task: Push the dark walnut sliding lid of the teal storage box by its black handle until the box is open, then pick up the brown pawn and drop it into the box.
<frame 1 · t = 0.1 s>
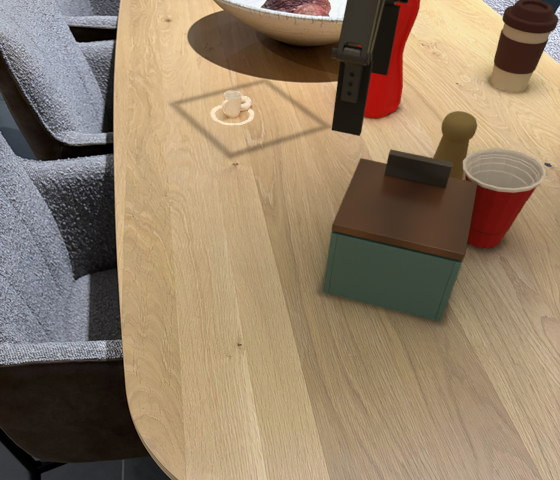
hand: (361, 99, 60), 26 cm above the table, tool pointing down, fingers open, 13 cm apart
sliding lid: (410, 195, 74), point 12 cm above the table, slide at 0.0 cm
water bottle: (367, 107, 114), on the table
plastic cup: (477, 239, 89), on the table
brown pawn: (442, 181, 99), on the table
coffee cup: (506, 87, 123), on the table
storage box: (390, 272, 83), on the table
teacup and saucer: (249, 119, 109), on the table
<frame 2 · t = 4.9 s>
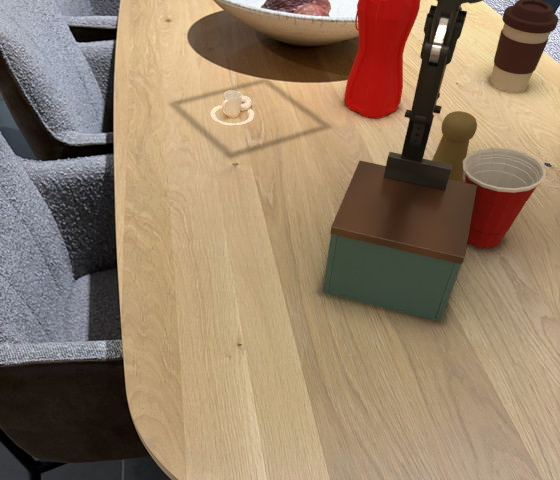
hand: (410, 164, 77), 13 cm above the table, tool pointing down, fingers closed
sliding lid: (409, 197, 73), point 12 cm above the table, slide at 0.6 cm, touching gripper
everything else where it was.
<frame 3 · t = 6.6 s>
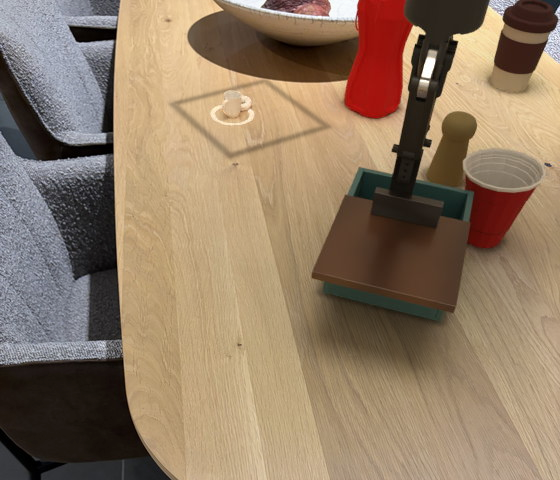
hand: (398, 200, 72), 13 cm above the table, tool pointing down, fingers closed
sliding lid: (397, 238, 68), point 12 cm above the table, slide at 9.1 cm, touching gripper
everything else where it was.
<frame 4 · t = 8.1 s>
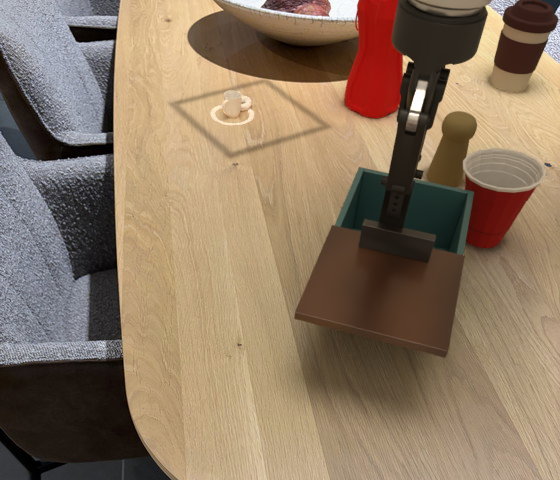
hand: (389, 232, 68), 13 cm above the table, tool pointing down, fingers closed
sliding lid: (386, 274, 64), point 12 cm above the table, slide at 15.8 cm, touching gripper
everything else where it was.
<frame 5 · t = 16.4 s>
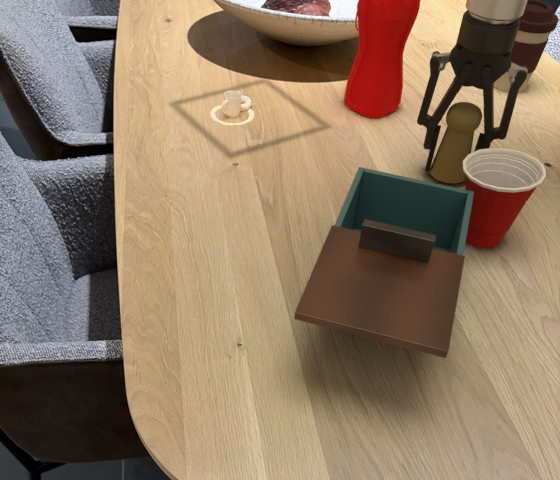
hand: (448, 171, 97), 2 cm above the table, tool pointing down, fingers closed on brown pawn, 6 cm apart
sliding lid: (386, 275, 64), point 12 cm above the table, slide at 15.8 cm
brown pawn: (448, 174, 98), point 1 cm above the table, touching gripper
everything else where it was.
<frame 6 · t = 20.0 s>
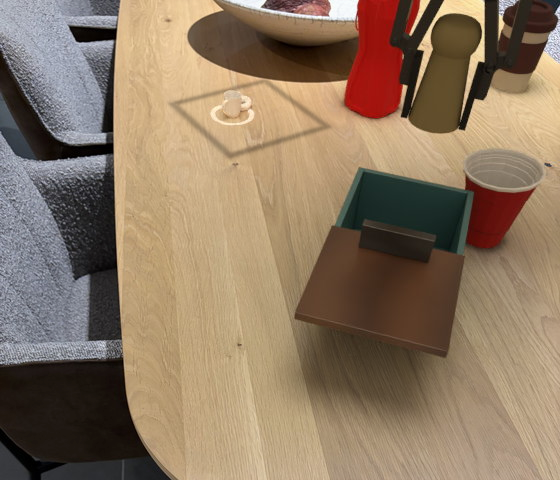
hand: (434, 118, 70), 20 cm above the table, tool pointing down, fingers closed on brown pawn, 6 cm apart
brown pawn: (433, 122, 70), point 20 cm above the table, touching gripper
everything else where it was.
when the fingers open (8 cm above the table, at t = 23.7 s): brown pawn drops 7 cm, resting on storage box.
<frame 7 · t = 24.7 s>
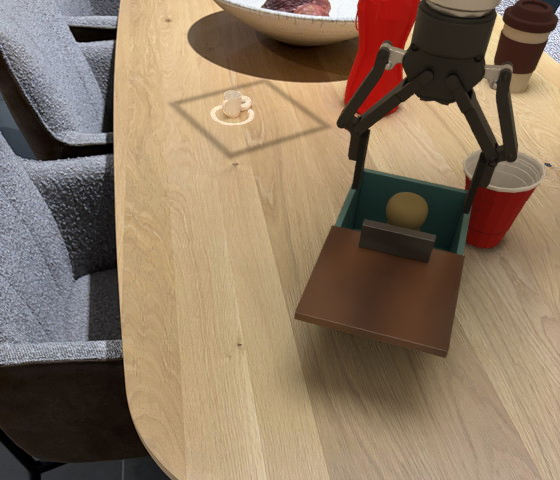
hand: (410, 195, 74), 12 cm above the table, tool pointing down, fingers open, 13 cm apart
brown pawn: (391, 269, 83), point 1 cm above the table, touching storage box
everything else where it was.
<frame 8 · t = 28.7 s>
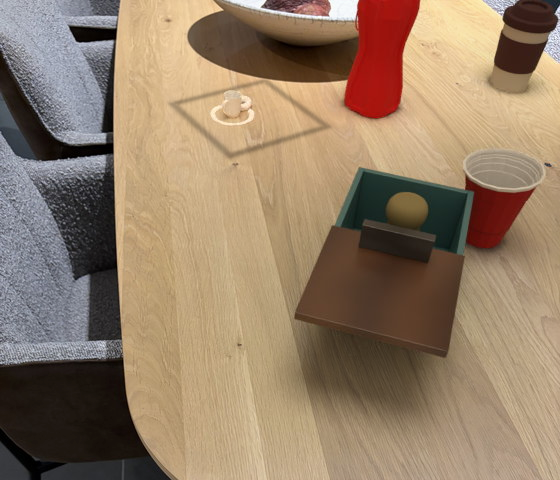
nothing on the table moved.
at the end: sliding lid slide at 15.8 cm; brown pawn inside the target area on the storage box (0.1 cm from its centre), point 0.6 cm above the storage box's base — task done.
